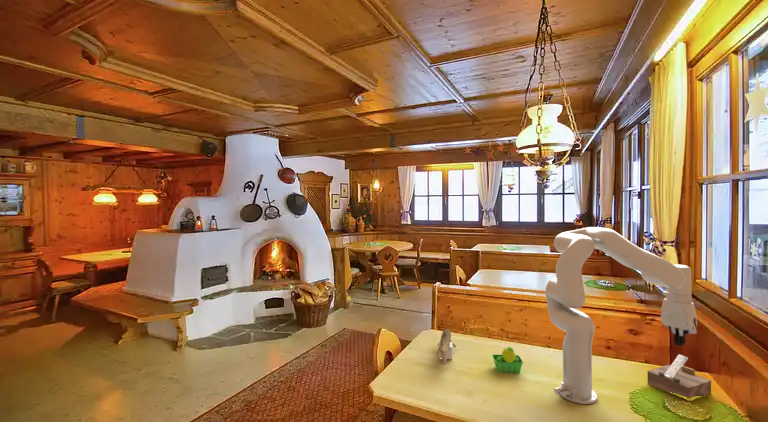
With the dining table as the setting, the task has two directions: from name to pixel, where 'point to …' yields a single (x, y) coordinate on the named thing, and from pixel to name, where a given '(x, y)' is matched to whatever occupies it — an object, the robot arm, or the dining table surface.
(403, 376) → the dining table surface
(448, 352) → the wood carving
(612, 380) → the dining table surface
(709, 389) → the walnut box
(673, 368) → the steel strap
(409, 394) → the dining table surface
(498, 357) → the fruit basket
